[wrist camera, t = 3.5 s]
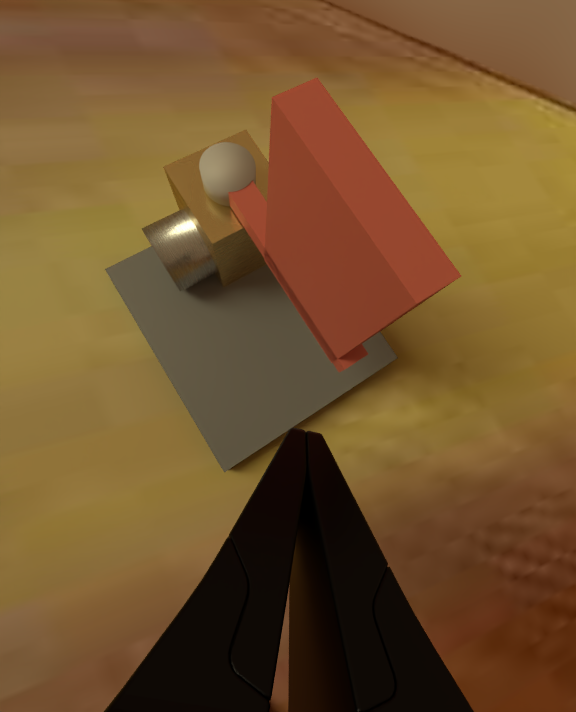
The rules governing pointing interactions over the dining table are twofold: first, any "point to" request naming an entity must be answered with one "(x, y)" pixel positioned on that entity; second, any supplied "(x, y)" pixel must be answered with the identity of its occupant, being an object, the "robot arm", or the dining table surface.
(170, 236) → the ball valve
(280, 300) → the mounting board
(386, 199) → the valve lever
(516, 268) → the dining table surface
